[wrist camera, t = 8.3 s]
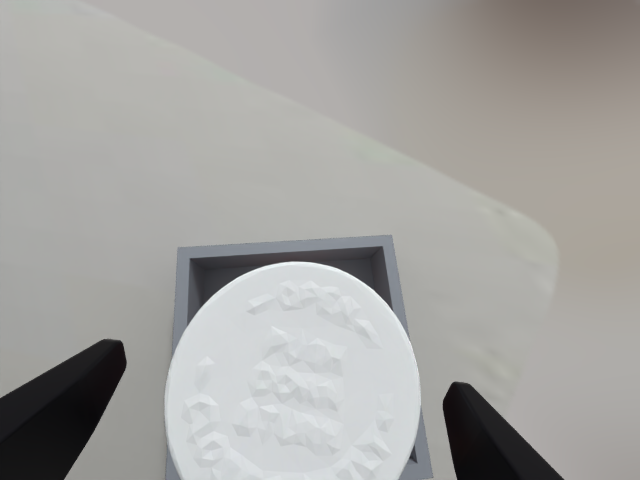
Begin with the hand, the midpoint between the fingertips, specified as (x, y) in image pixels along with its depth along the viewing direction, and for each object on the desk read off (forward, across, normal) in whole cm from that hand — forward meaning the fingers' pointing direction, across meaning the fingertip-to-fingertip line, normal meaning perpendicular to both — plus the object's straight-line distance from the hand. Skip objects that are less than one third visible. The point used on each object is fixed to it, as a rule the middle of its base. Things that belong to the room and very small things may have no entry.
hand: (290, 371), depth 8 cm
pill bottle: (+6, 0, +6) cm, 9 cm away
